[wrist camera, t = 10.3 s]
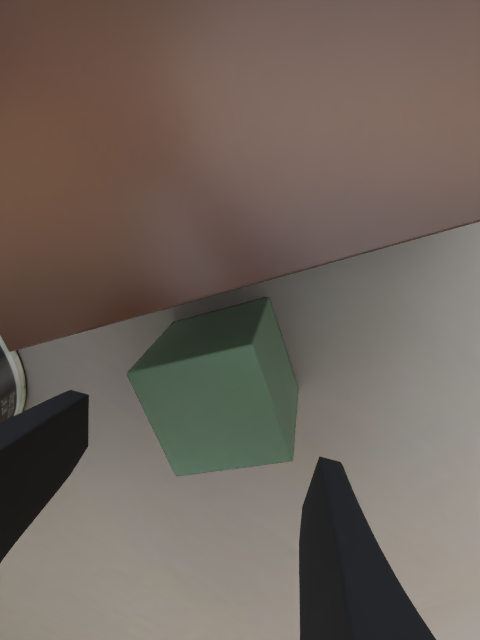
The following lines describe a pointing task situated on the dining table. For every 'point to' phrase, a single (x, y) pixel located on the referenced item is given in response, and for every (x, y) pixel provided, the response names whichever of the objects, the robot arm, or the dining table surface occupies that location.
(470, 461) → the dining table surface
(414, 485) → the dining table surface
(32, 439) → the robot arm
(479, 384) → the dining table surface
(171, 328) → the block
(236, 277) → the lid
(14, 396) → the coffee can
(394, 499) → the dining table surface
